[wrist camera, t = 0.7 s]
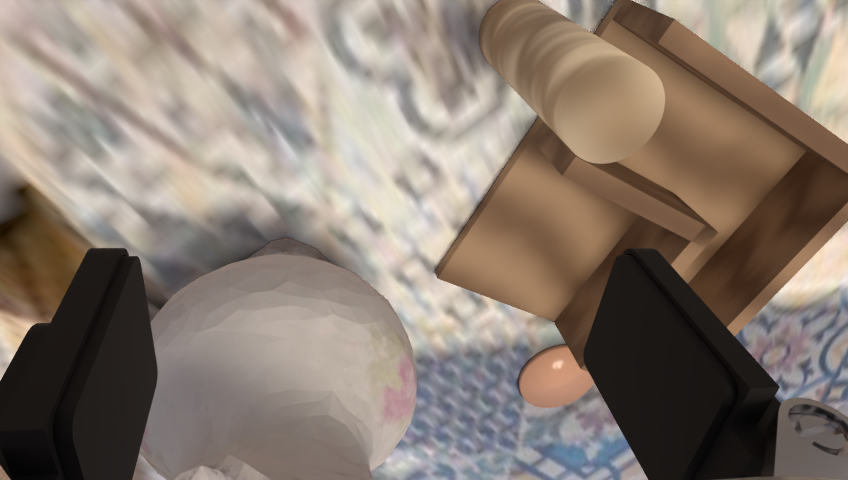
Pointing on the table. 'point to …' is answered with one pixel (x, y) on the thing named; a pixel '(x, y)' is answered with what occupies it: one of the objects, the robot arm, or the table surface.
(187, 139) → the table surface
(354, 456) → the ceramic pitcher
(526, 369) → the pad
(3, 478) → the robot arm
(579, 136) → the beech peg
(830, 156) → the channel board
